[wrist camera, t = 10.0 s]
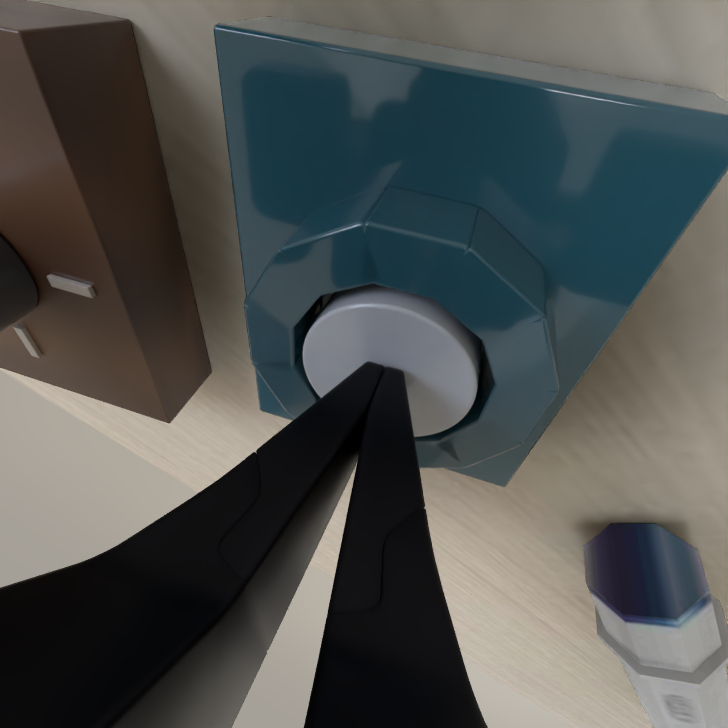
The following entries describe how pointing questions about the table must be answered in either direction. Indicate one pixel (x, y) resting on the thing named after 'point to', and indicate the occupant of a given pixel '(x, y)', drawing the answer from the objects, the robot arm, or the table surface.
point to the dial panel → (92, 216)
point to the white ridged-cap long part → (661, 623)
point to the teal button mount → (454, 207)
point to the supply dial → (14, 287)
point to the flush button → (398, 350)
